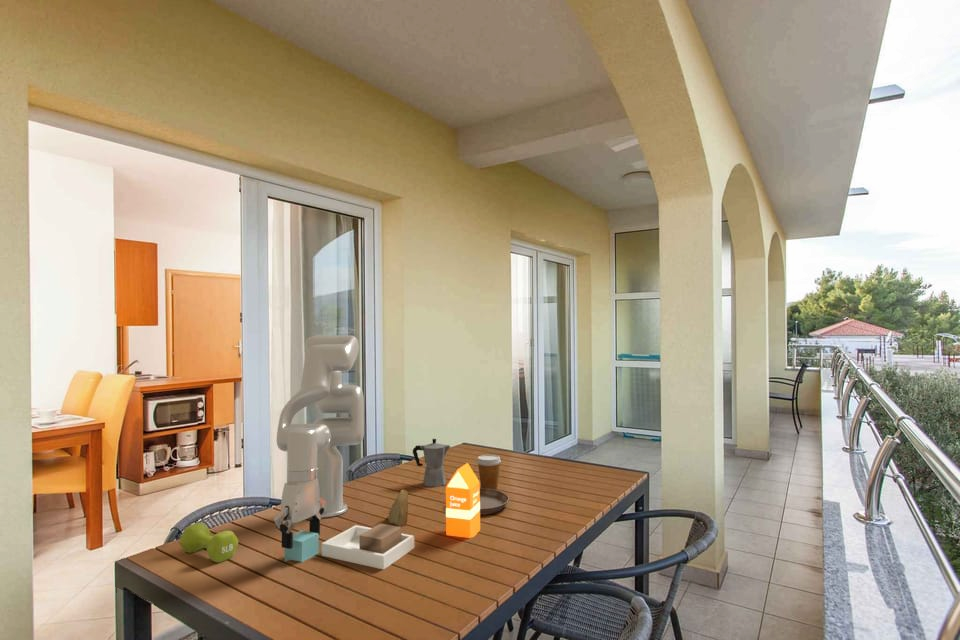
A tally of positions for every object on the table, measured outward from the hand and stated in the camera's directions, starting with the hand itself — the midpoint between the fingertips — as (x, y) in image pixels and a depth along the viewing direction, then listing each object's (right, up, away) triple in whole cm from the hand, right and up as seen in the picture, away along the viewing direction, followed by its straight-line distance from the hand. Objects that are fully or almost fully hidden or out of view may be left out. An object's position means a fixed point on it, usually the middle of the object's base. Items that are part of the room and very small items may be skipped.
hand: (301, 541), depth 130 cm
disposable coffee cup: (+51, -7, +61) cm, 79 cm away
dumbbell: (-27, -6, +3) cm, 27 cm away
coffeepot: (+28, -8, +68) cm, 74 cm away
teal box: (0, -5, 0) cm, 5 cm away
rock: (+21, -6, +25) cm, 33 cm away
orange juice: (+42, -5, +16) cm, 46 cm away
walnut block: (+21, -4, +1) cm, 21 cm away
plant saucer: (+47, -7, +40) cm, 62 cm away
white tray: (+17, -5, +2) cm, 18 cm away
